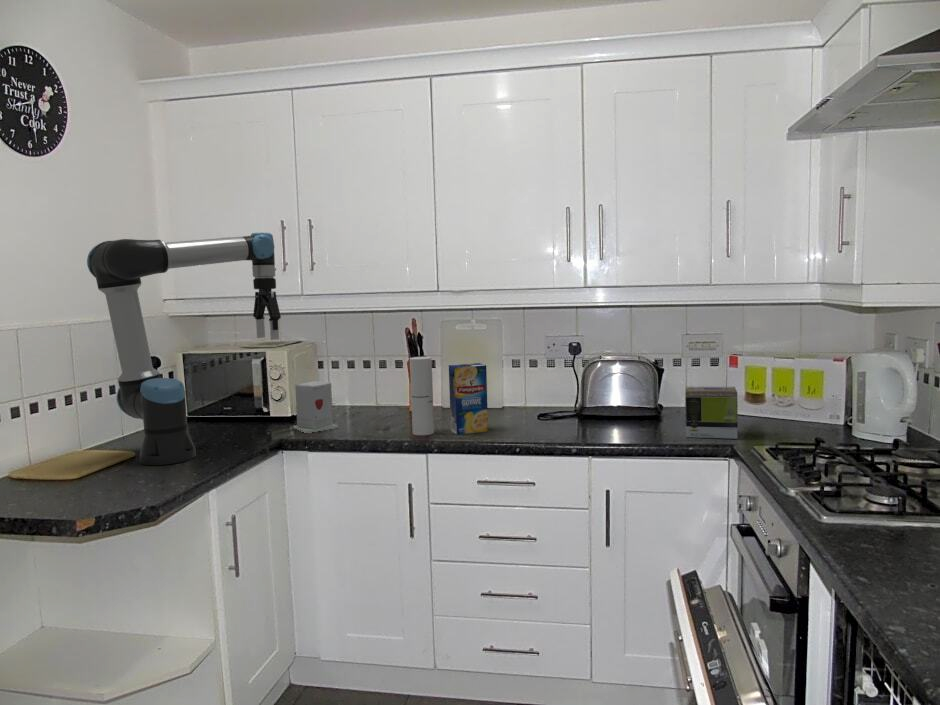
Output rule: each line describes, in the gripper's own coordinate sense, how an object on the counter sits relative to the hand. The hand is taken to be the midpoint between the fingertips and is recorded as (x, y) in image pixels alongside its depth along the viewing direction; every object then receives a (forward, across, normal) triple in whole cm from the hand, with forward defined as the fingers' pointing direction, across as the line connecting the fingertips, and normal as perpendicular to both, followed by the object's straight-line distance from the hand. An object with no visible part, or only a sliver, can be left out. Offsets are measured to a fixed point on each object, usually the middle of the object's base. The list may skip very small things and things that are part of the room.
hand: (267, 338), depth 239 cm
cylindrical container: (+31, -46, -34) cm, 65 cm away
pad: (+31, -14, -10) cm, 36 cm away
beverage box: (+31, -54, -47) cm, 78 cm away
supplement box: (+31, -14, -10) cm, 35 cm away
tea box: (+31, -112, -98) cm, 152 cm away
